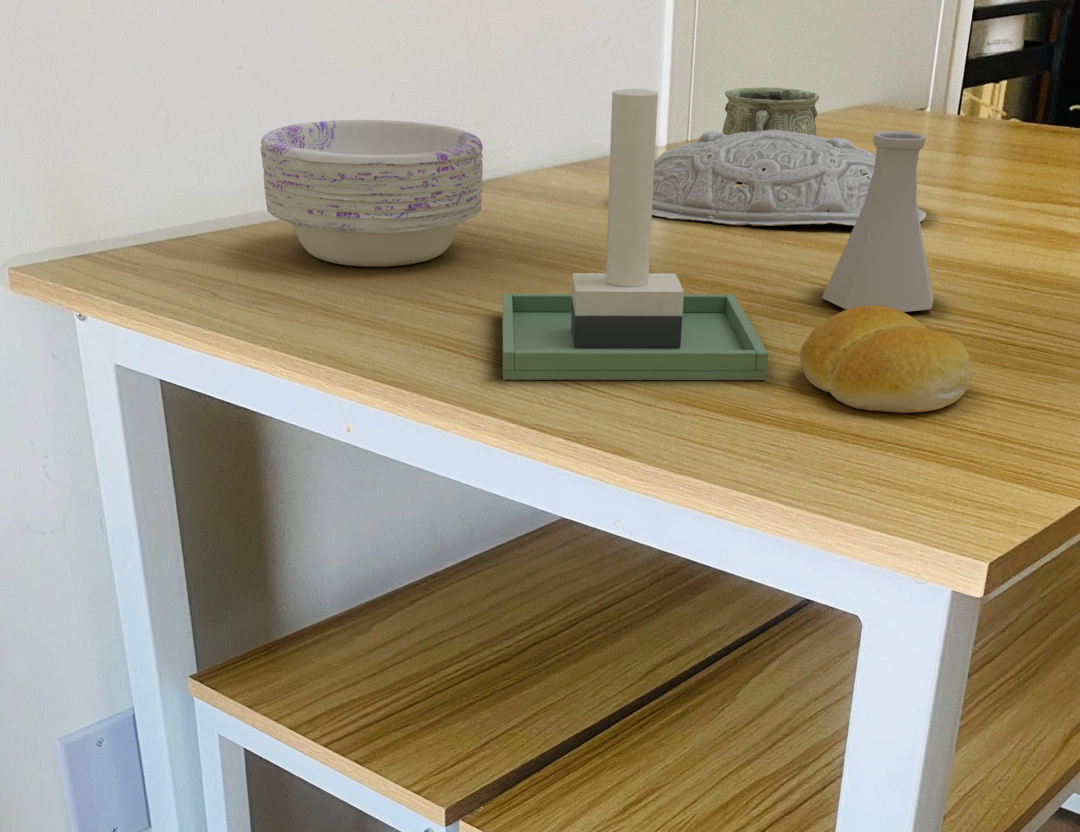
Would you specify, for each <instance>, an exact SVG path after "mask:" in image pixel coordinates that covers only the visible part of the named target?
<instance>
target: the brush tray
mask: <svg viewBox="0 0 1080 832" xmlns="http://www.w3.org/2000/svg"><path fill="white" fill-rule="evenodd" d="M501 298H502V299H501V301H502V302H501V303H502V304H501V305H502V307H501V308H502V313H501V315H502V317H501V318H502V319H501V320H502V321H501V322H502V380H504V381H766V377H767V367H768V357H769V356H768V355H769V353H768V351H767V349H766V347H765V346H764V344H763V342H762V341H761V338H760V337H759V335H758V333H757V331H756V330H755V328H754V326H753V324H752V322H751V321H750V319H749V317H748V316H747V314H746V312H745V310H744V309H743V306H742V305H741V304H740V301H739V300H738V298H737V296H736V295H735V293H726V294H724V293H684V300H683V315H682V331H681V346H680V348H575V347H574V342H573V336H572V330H571V310H572V293H538V292H537V293H533V292H532V293H531V292H530V293H523V292H522V293H521V292H520V293H517V292H516V293H514V292H513V293H510V292H509V293H508V292H503V293H501Z"/></svg>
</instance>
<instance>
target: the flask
mask: <svg viewBox="0 0 1080 832" xmlns="http://www.w3.org/2000/svg"><path fill="white" fill-rule="evenodd" d="M926 140H927V135H926V134H921V133H917V132H913V131H897V130H892V131H891V130H890V131H876V132H874V134H873V138H872V142H873V146H874V147H876V148H875V149H876V152H875V155H876V159H875V166H874V172H873V175H872V179H871V182H870V186H869V189H868V193H867V196H866V200H865V203H864V205H863V207H862V210H861V212H860V214H859V217H858V219H857V221H856V224H855V226H853V228H852V230H851V233H850V236H849V238H848V239H847V242H846V244H845V247H844V249H843V250H842V253H841V255H840V257H839V259H838V261H837V264H836V266H835V268H834V269H833V272H832V274H831V276H830V278H829V280H828V283H827V285H826V288H825V290H824V291H823V294H822V296H821V299H823V300H826V301H828V302H830V303H832V304H833V305H836V306H838V307H840V308H841V309H844V310H847V309H850V308H854V307H860V306H874V305H877V306H885V307H890V308H893V309H896V310H899V311H901V312H904V313H906V312H916V311H928V310H932V308H933V303H934V291H933V286H932V279H931V276H930V275H931V274H930V269H929V265H928V260H927V254H926V249H925V243H924V238H923V237H924V236H923V231H922V225H921V222H920V218H919V212H918V209H919V206H918V191H917V190H918V181H917V179H918V175H917V174H918V173H917V170H918V163H919V155H920V151H921V150H922V149H923V148H924V147H925V144H926Z"/></svg>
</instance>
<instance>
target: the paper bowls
mask: <svg viewBox="0 0 1080 832" xmlns="http://www.w3.org/2000/svg"><path fill="white" fill-rule="evenodd" d="M260 144H261V146H260V155H261V160H262V161H261V163H262V169H263V188H264V196H265V205H266V209H267V212H268V213H270V214H271V216H272V217H274V218H276V219H278V220H280V221H281V220H282V221H284V222H287V223H289V224H291V225H292V228H293V230H294V232H295V234H296V236H297V238H298V240H299V242H300V244H301V246H302V247H303V249H304V250H306V252H307V253H309V254H310V255H311V256H313V257H315V258H316V259H319V260H321V261H324V262H329V263H332V264H337V265H341V266H350V267H351V266H352V267H361V268H389V267H400V266H406V265H407V266H408V265H414V264H415V265H416V264H418V263H424V262H426V261H430V260H432V259H435V258H437V257H439V256H440V255H443V254H444V253H445V252H446V250H448V248H449V247H450V245H451V244H452V241H453V239H454V237H455V235H456V232H457V230H458V227H459V224H460V223H463V222H465V221H468V220H471V219H472V218H474V217H477V216H478V215H479V214H480V213H481V211H482V204H483V203H482V202H483V192H484V191H483V183H484V181H483V172H484V171H483V168H484V167H483V157H484V155H483V148H484V145H483V143H482V141H481V139H480V138H479V137H478V136H477V135H475V134H474V133H471V132H469V131H466V130H463V129H459V128H456V127H451V126H445V125H441V124H434V123H425V122H418V121H417V122H416V121H415V122H414V121H407V120H406V121H405V120H404V121H402V120H390V119H387V120H386V119H336V120H334V119H333V120H320V121H311V122H303V123H296V124H295V123H294V124H290V125H285V126H281V127H277V128H275V129H272V130H270V131H268V132H266V133H265V134H264V135H263V136H262V138H261V141H260Z"/></svg>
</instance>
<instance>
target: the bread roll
mask: <svg viewBox="0 0 1080 832" xmlns="http://www.w3.org/2000/svg"><path fill="white" fill-rule="evenodd" d="M799 361H800V366H801V369H802V371H803V373H804V375H805V377H806V379H807V380H808V382H809V383H811V384H812V385H813V386H814V387H815V388H817V389H819V390H821V391H823V392H826V393H830V394H831V396H832V397H833V398H834V399H836V400H837V401H839V402H840V403H842V404H843V405H845V406H848V407H851V408H854V409H859V410H866V411H871V412H874V411H875V412H888V413H898V414H899V413H900V414H912V413H913V414H915V413H926V412H930V411H932V412H933V411H936V410H940V409H943V408H945V407H948V406H950V405H952V404H954V403H956V402H957V401H958V400H960V398H961V397H962V396H963V395H965V393H966V392H967V390H968V388H969V386H970V382H971V376H972V362H971V360H970V355H969V353H968V350H967V348H966V347H965V345H964V344H963V343H962V342H961V341H960V340H959V339H957V338H955V337H953V336H951V335H948V334H946V333H944V332H941V331H937V330H934V329H930V328H927V327H926V326H924V325H923V324H922V323H921V322H920V321H919V320H917V319H916V318H914V317H912V316H911V315H909V314H908V313H906V312H901V311H899V310H896V309H893V308H890V307H885V306H877V305H874V306H860V307H854V308H850V309H844V310H842V311H840V312H838V313H836V314H835V315H833V316H832V317H829V318H828V319H826V320H825V322H823V323H822V324H820V325H818V326H817V327H816V328H815V329H813V330H812V331H811V333H810V334H809V336H807V338H806V339H805V341H804V342H803V344H802V345H801V348H800V352H799Z"/></svg>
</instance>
